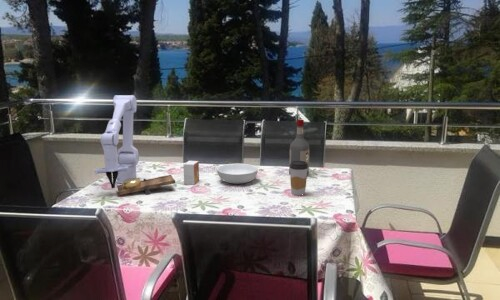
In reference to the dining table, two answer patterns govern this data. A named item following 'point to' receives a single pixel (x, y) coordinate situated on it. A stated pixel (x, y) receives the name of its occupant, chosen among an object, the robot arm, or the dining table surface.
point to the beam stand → (147, 189)
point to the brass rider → (131, 183)
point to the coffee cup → (298, 177)
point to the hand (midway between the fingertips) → (113, 187)
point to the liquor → (299, 147)
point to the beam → (151, 182)
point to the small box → (191, 172)
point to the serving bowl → (237, 172)
